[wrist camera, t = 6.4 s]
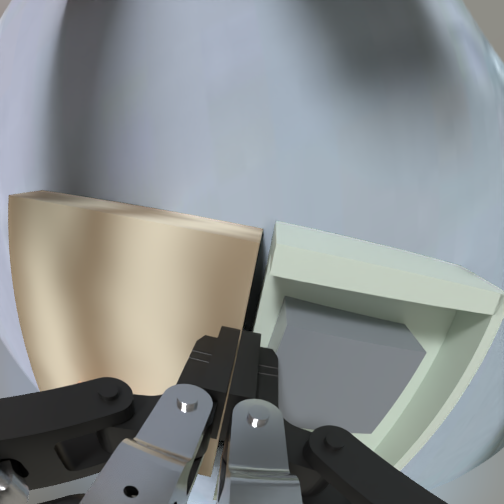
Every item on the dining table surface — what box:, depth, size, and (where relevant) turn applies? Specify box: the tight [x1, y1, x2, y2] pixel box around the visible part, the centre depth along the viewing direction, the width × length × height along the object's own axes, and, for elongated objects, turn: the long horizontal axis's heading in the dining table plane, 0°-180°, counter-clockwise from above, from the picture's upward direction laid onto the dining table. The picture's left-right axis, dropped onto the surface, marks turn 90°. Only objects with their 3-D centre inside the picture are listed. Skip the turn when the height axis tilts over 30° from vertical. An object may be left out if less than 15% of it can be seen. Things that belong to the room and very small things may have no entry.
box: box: [213, 221, 504, 500], centre depth 13 cm, size 11×18×5 cm, turn 169°
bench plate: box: [8, 190, 263, 477], centre depth 14 cm, size 14×17×3 cm
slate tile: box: [267, 296, 427, 434], centre depth 11 cm, size 6×5×2 cm
